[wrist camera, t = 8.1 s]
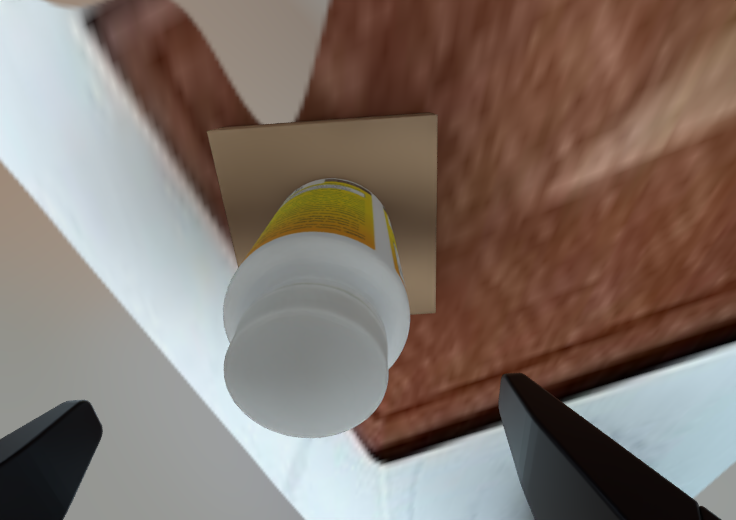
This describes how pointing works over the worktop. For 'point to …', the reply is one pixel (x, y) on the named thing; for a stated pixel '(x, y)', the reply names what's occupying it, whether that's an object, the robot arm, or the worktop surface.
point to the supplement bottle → (317, 313)
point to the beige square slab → (342, 161)
